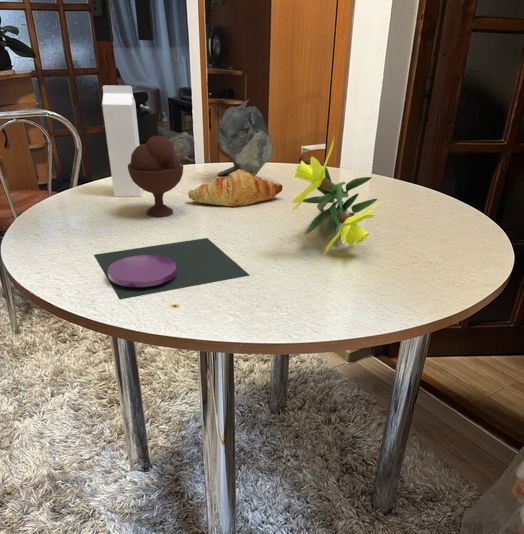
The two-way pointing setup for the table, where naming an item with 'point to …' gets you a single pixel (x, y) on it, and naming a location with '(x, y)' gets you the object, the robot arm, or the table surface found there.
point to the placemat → (178, 266)
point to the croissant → (235, 190)
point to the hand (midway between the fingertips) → (127, 41)
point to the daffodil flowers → (332, 191)
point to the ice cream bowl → (156, 171)
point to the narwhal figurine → (244, 139)
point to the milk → (121, 137)
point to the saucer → (142, 271)
